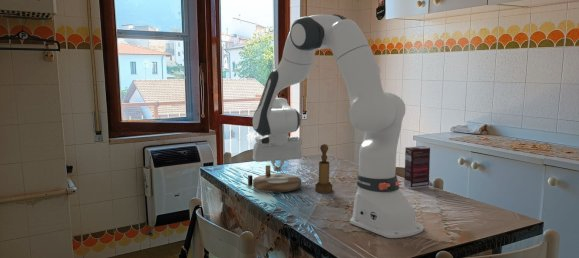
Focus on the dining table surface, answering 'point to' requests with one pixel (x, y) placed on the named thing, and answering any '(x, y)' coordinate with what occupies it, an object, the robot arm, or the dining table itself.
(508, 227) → the dining table surface
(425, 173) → the supplement box
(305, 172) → the dining table surface
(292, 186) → the turntable
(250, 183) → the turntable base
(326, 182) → the brown wooden upright piece
